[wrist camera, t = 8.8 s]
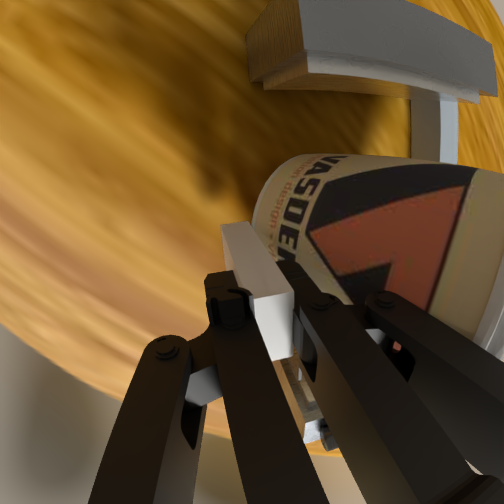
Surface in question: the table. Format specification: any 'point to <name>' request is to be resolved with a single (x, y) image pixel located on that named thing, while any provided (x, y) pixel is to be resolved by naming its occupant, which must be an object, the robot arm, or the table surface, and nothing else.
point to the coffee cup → (394, 234)
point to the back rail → (434, 130)
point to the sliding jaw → (303, 403)
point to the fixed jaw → (369, 51)
